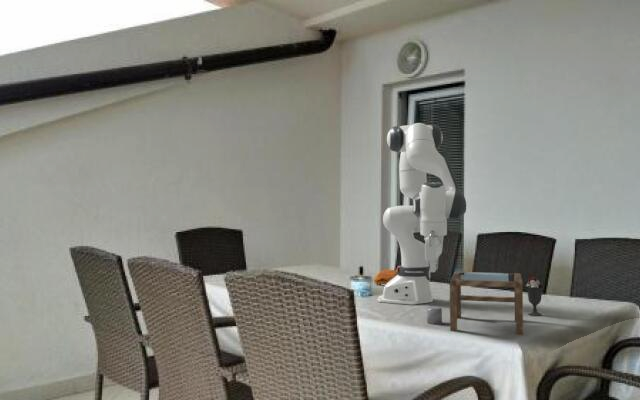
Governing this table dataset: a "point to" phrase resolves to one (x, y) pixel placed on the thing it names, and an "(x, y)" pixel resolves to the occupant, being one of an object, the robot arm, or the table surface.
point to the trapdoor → (486, 276)
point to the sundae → (534, 294)
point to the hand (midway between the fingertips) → (433, 270)
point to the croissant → (385, 276)
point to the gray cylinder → (434, 315)
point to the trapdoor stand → (485, 297)
